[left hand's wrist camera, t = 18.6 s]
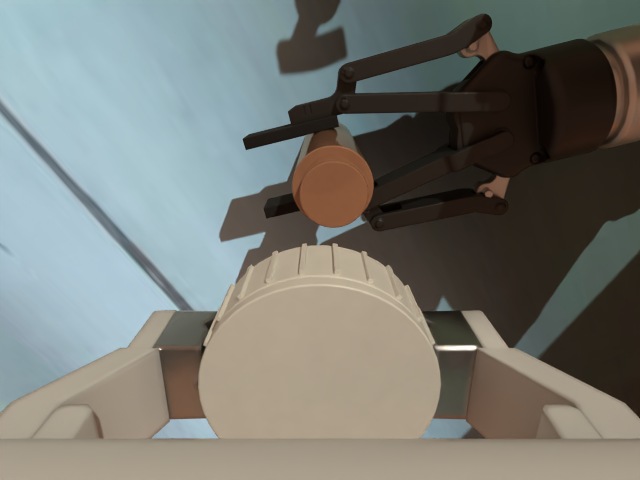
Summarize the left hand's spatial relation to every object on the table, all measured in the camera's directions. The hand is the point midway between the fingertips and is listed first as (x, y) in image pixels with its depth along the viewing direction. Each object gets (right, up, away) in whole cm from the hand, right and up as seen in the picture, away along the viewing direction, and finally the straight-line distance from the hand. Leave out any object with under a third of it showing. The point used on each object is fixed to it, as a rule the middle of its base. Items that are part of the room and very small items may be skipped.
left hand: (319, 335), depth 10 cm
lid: (0, -1, -2) cm, 2 cm away
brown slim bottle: (+1, +10, +26) cm, 28 cm away
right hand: (-4, +7, +20) cm, 22 cm away
